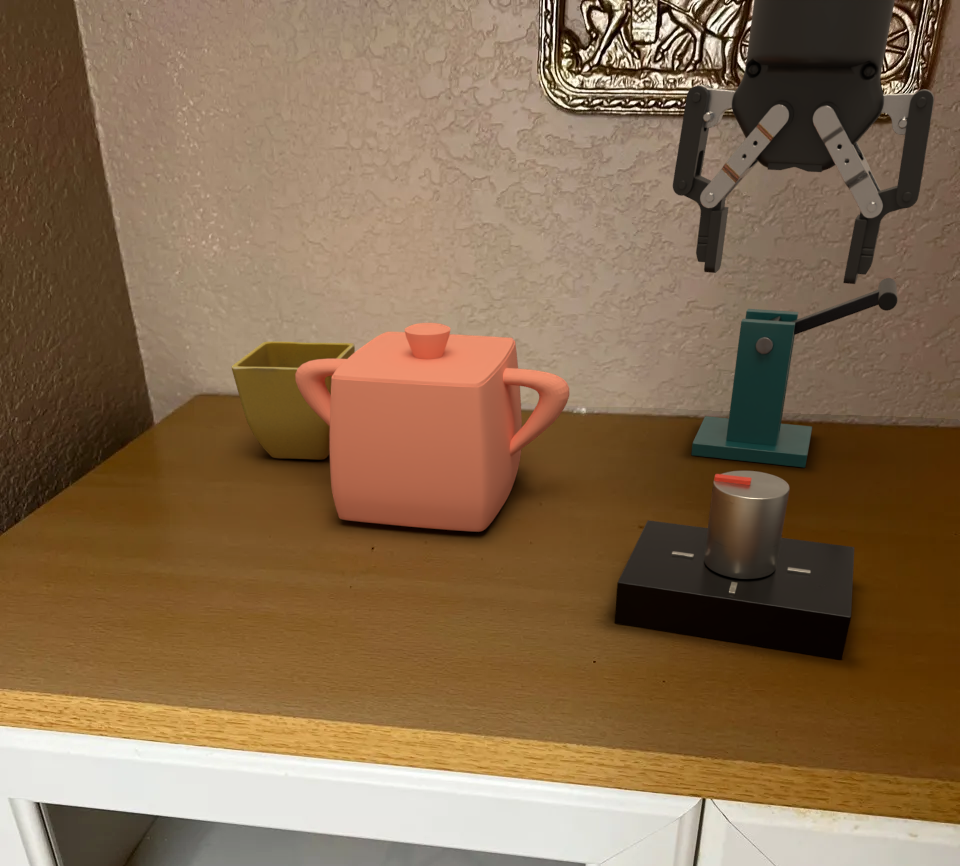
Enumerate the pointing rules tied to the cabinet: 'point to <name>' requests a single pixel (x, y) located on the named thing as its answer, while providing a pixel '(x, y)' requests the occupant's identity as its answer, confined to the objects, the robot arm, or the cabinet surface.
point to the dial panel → (738, 593)
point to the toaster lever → (850, 307)
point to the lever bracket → (758, 399)
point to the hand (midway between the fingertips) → (779, 276)
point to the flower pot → (285, 397)
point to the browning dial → (745, 524)
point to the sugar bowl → (428, 425)
